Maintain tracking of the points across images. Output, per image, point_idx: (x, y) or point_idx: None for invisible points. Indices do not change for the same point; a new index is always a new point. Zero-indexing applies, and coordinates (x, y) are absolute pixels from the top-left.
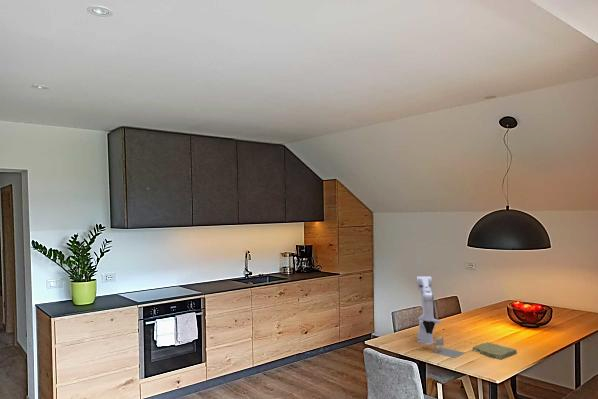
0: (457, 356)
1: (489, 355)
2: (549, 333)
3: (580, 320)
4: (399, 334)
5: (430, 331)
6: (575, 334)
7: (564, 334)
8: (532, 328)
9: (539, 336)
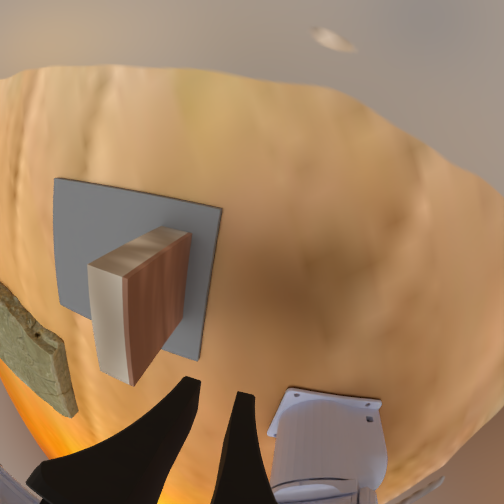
0: (54, 216)
1: (3, 290)
2: None
3: None
4: (459, 439)
5: (163, 399)
6: (50, 457)
7: None
8: None
9: None
